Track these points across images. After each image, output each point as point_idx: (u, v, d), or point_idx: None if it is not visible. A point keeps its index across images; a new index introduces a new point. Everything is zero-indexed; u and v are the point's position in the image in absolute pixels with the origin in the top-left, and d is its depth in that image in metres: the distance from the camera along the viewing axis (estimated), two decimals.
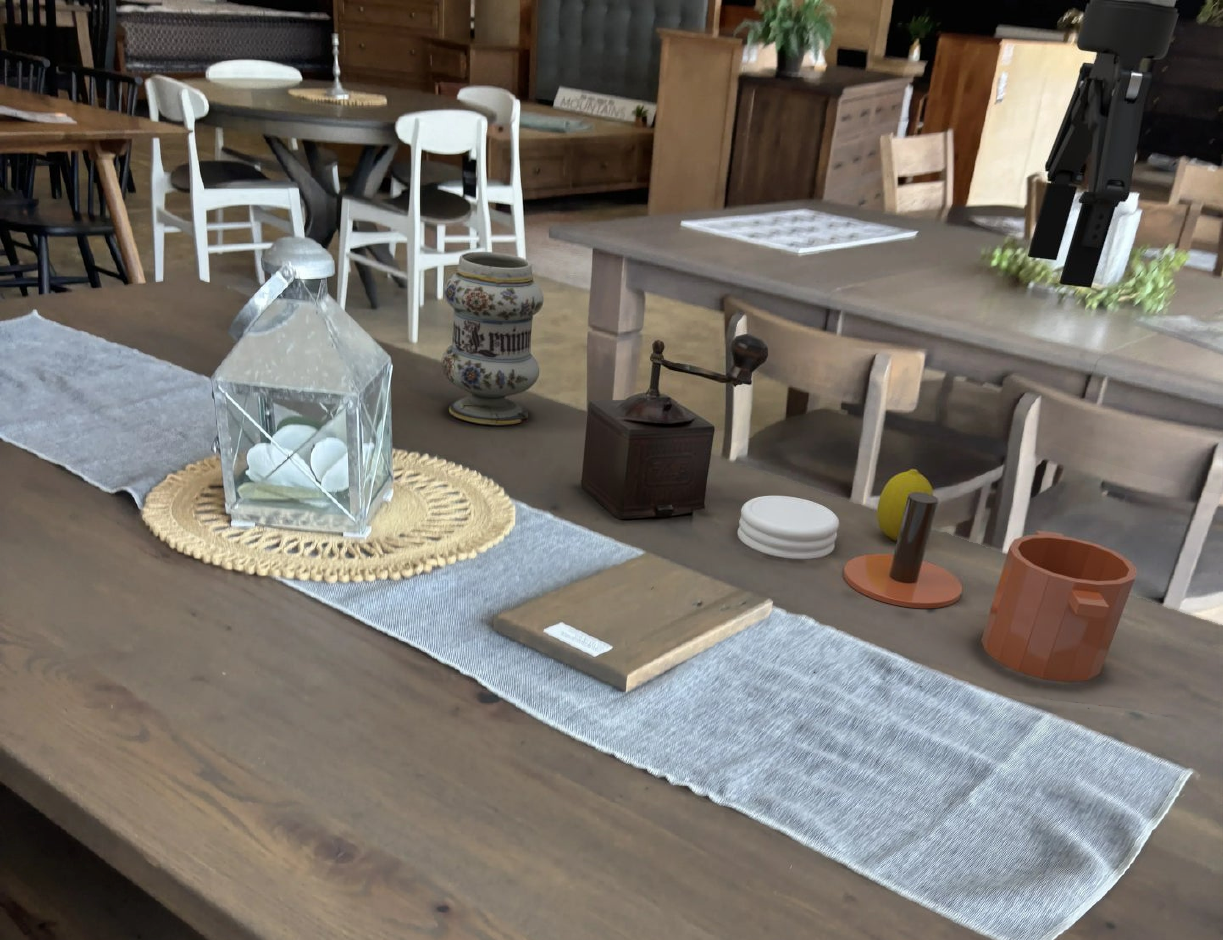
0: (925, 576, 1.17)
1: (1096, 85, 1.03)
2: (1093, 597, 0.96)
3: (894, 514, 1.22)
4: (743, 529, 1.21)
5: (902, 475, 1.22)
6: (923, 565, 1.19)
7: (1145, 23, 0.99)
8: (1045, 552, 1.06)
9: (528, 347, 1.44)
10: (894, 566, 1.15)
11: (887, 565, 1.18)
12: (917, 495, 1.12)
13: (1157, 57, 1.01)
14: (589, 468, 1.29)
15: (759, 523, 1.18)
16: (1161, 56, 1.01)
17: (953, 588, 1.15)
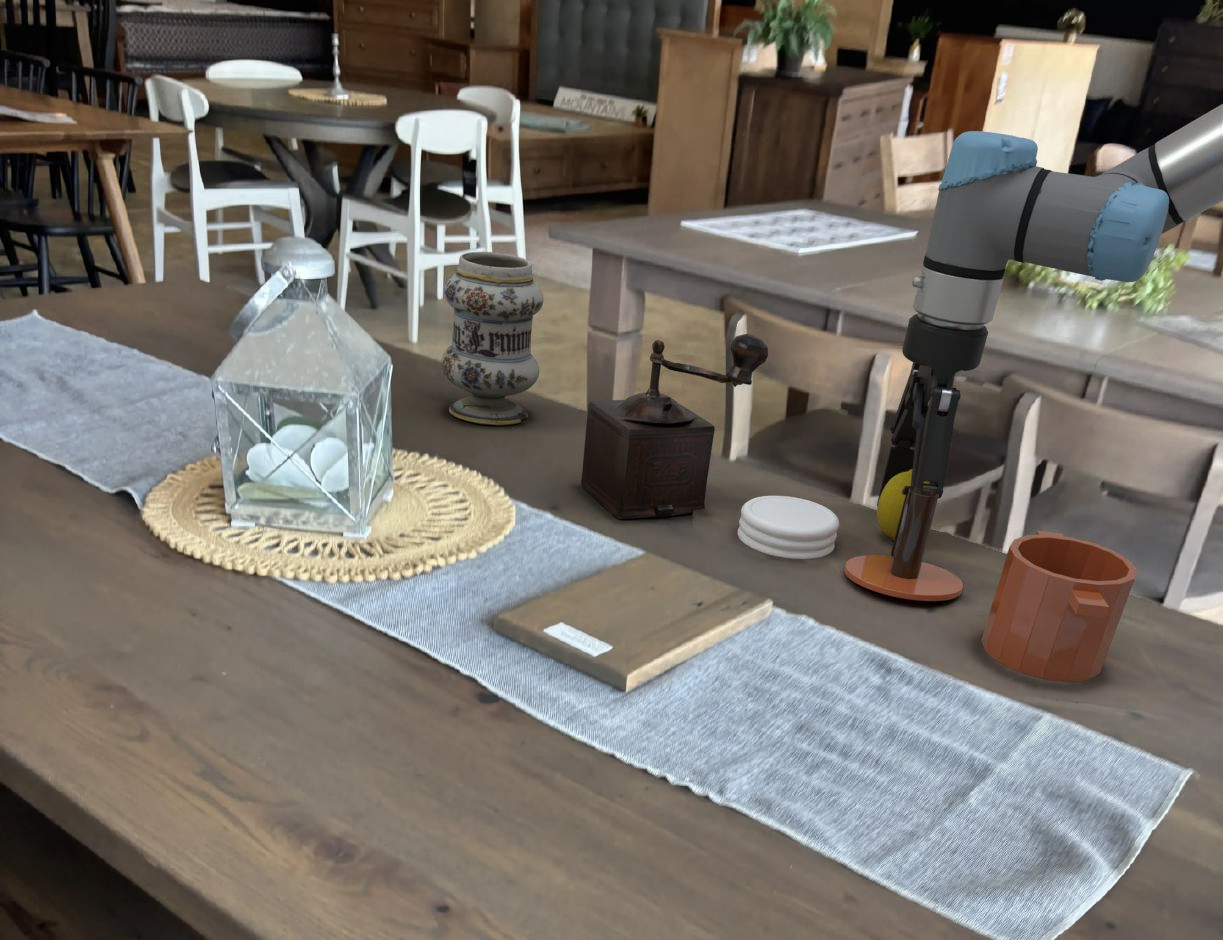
0: (925, 574, 1.17)
1: (918, 389, 1.16)
2: (1093, 597, 0.96)
3: (894, 514, 1.22)
4: (743, 529, 1.21)
5: (902, 475, 1.22)
6: (923, 565, 1.19)
7: (955, 346, 1.11)
8: (1045, 552, 1.06)
9: (528, 347, 1.44)
10: (895, 562, 1.15)
11: (887, 564, 1.18)
12: (917, 490, 1.12)
13: (969, 370, 1.14)
14: (589, 468, 1.29)
15: (759, 523, 1.18)
16: (973, 368, 1.14)
17: (954, 584, 1.15)
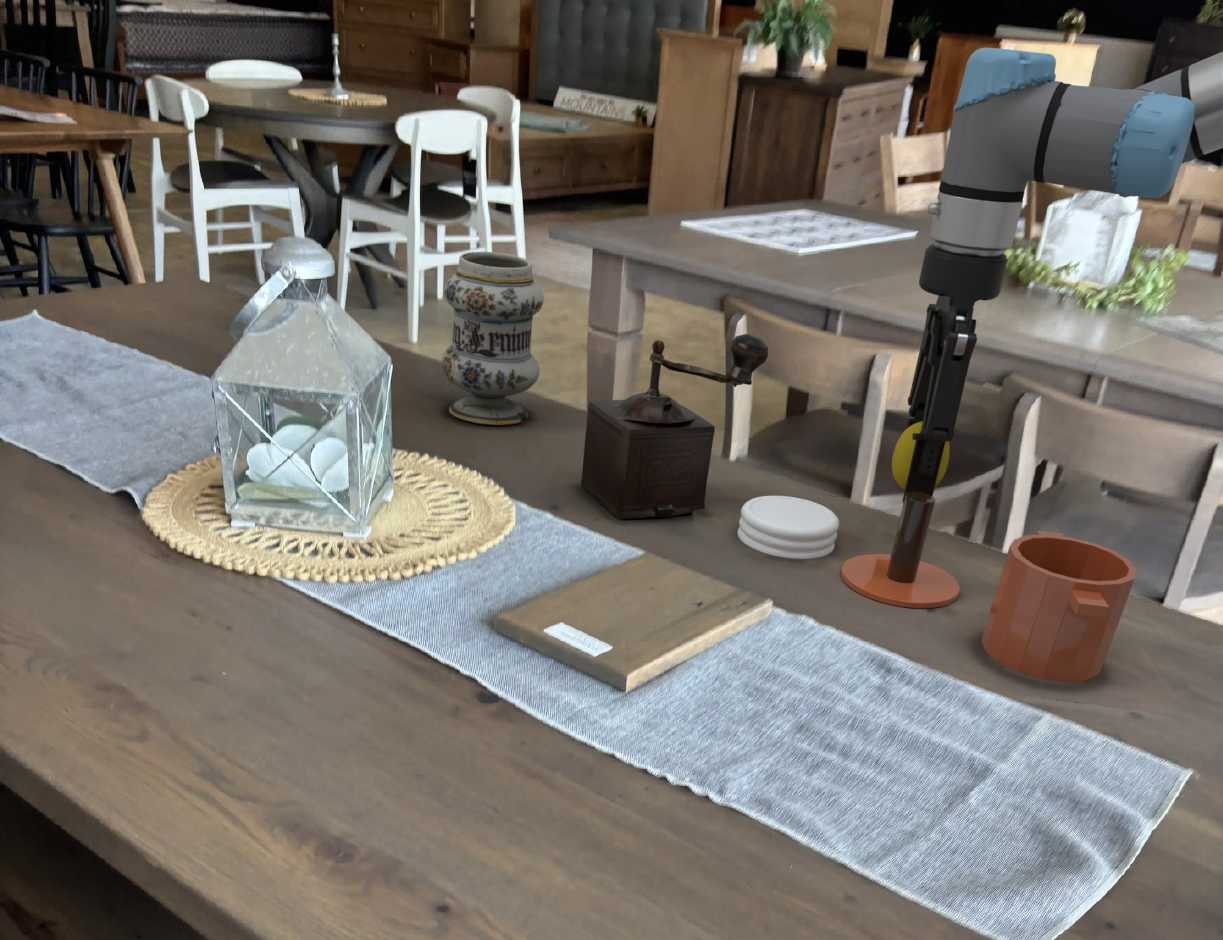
0: (922, 576, 1.17)
1: (936, 321, 1.12)
2: (1093, 597, 0.96)
3: (909, 465, 1.19)
4: (743, 529, 1.21)
5: (917, 425, 1.19)
6: (920, 565, 1.19)
7: (975, 273, 1.08)
8: (1045, 552, 1.06)
9: (528, 347, 1.44)
10: (891, 566, 1.15)
11: (884, 565, 1.18)
12: (914, 494, 1.12)
13: (989, 299, 1.10)
14: (589, 468, 1.29)
15: (759, 523, 1.18)
16: (993, 297, 1.10)
17: (950, 588, 1.15)
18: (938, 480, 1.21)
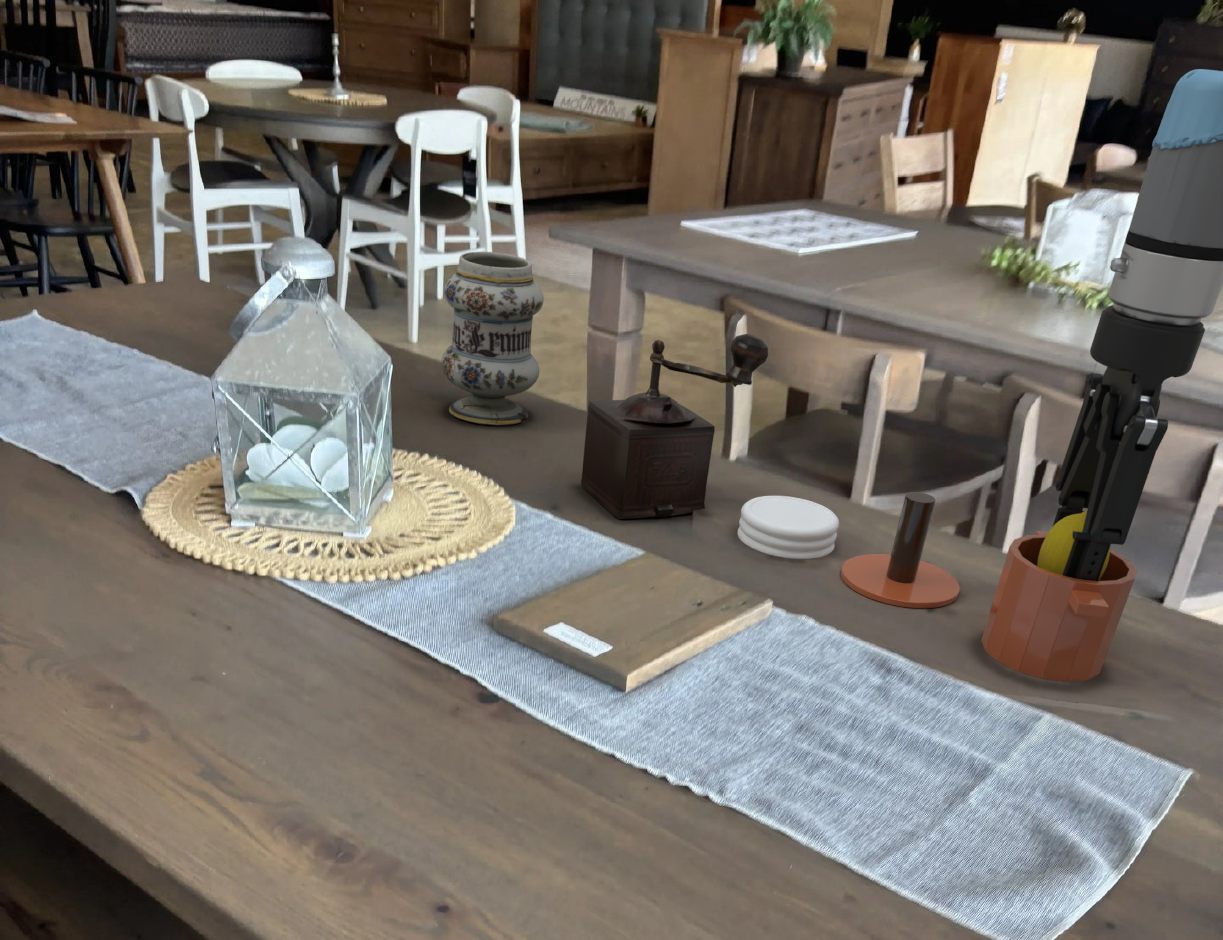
0: (922, 576, 1.17)
1: (1112, 400, 0.92)
2: (1093, 597, 0.96)
3: (1063, 567, 0.99)
4: (743, 529, 1.21)
5: (1074, 518, 0.99)
6: (920, 565, 1.19)
7: (1168, 346, 0.88)
8: None
9: (528, 347, 1.44)
10: (891, 566, 1.15)
11: (884, 565, 1.18)
12: (914, 494, 1.12)
13: (1180, 375, 0.90)
14: (589, 468, 1.29)
15: (759, 523, 1.18)
16: None
17: (950, 588, 1.15)
18: None
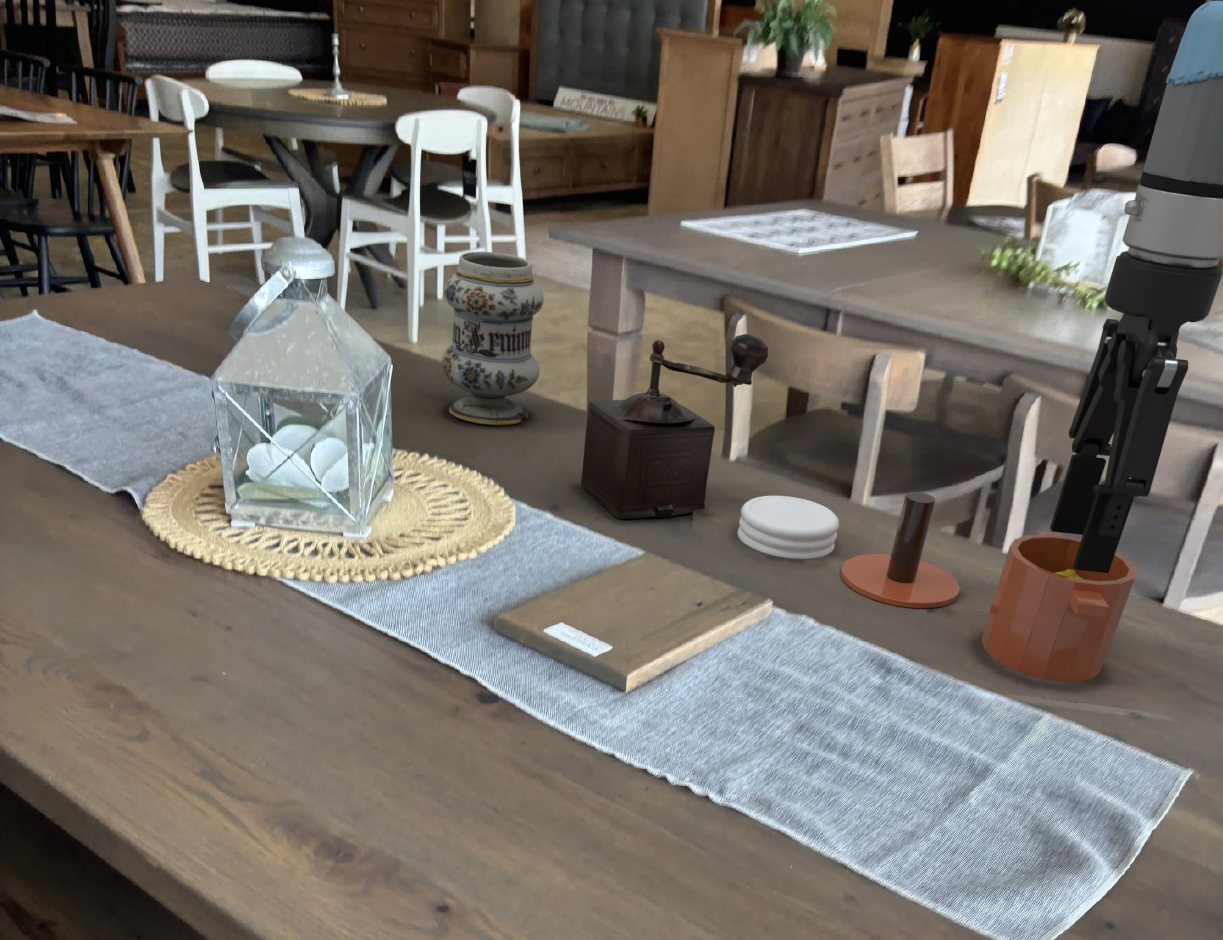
0: (922, 576, 1.17)
1: (1127, 348, 0.90)
2: (1093, 597, 0.96)
3: None
4: (743, 529, 1.21)
5: None
6: (920, 565, 1.19)
7: (1185, 289, 0.86)
8: (1045, 552, 1.06)
9: (528, 347, 1.44)
10: (891, 566, 1.15)
11: (884, 565, 1.18)
12: (914, 494, 1.12)
13: (1198, 320, 0.88)
14: (589, 468, 1.29)
15: (759, 523, 1.18)
16: None
17: (950, 588, 1.15)
18: None
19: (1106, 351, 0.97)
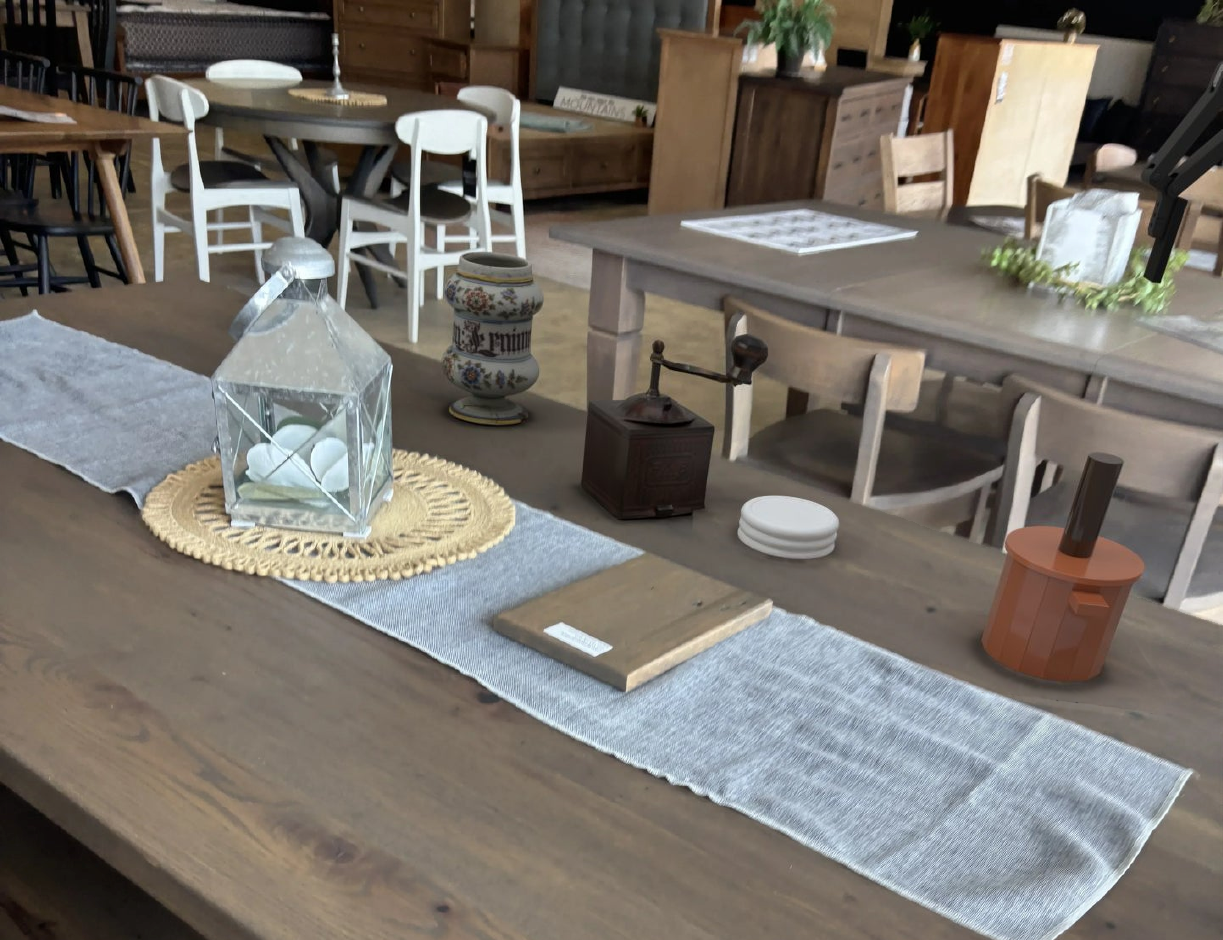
0: (1099, 550, 1.01)
1: None
2: (1093, 597, 0.96)
3: None
4: (743, 529, 1.21)
5: None
6: None
7: None
8: None
9: (528, 347, 1.44)
10: (1066, 538, 1.00)
11: (1052, 538, 1.03)
12: (1098, 455, 0.97)
13: None
14: (589, 468, 1.29)
15: (759, 523, 1.18)
16: None
17: (1134, 564, 1.00)
18: None
19: None
